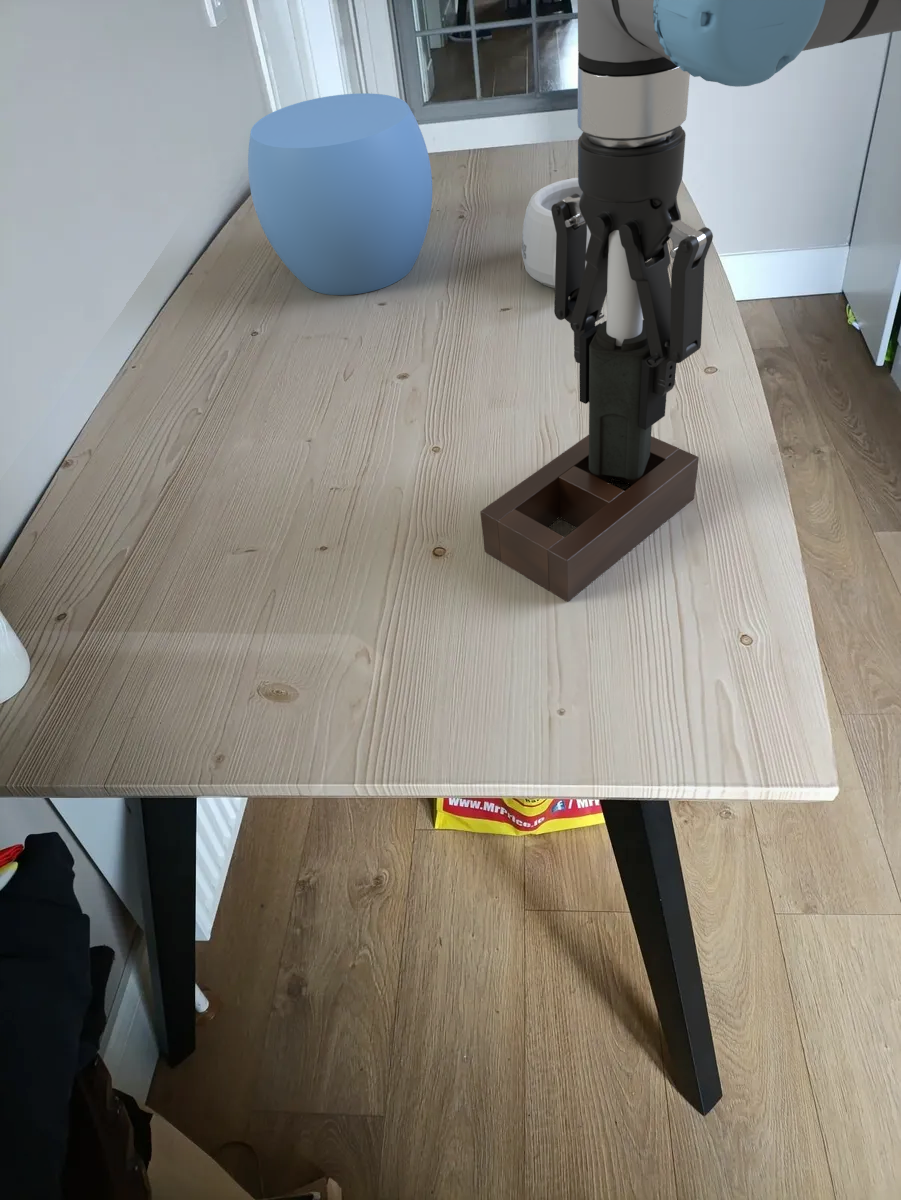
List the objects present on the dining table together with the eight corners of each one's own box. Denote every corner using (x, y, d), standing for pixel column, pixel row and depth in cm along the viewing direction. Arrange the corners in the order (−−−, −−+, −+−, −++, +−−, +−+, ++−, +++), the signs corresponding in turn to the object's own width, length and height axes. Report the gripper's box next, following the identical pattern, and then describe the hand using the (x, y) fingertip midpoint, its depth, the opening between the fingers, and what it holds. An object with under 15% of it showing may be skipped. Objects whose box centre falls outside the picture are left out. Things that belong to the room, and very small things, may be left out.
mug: (541, 240, 130) (539, 169, 123) (655, 245, 125) (659, 172, 118) (496, 309, 117) (490, 234, 110) (621, 319, 111) (624, 241, 104)
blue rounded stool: (429, 304, 120) (408, 145, 105) (255, 312, 124) (211, 160, 109) (450, 227, 137) (434, 82, 123) (296, 237, 141) (264, 97, 127)
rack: (694, 498, 85) (699, 456, 82) (567, 602, 77) (566, 561, 74) (610, 459, 91) (611, 418, 88) (484, 551, 83) (480, 511, 80)
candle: (652, 449, 83) (671, 174, 66) (640, 481, 80) (656, 201, 62) (599, 442, 85) (604, 172, 67) (585, 473, 82) (586, 198, 64)
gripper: (781, 133, 58) (738, 426, 75) (565, 94, 69) (568, 358, 85) (714, 171, 55) (684, 468, 71) (498, 123, 66) (515, 392, 82)
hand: (621, 407), depth 78 cm, fingers closed on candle, 6 cm apart
